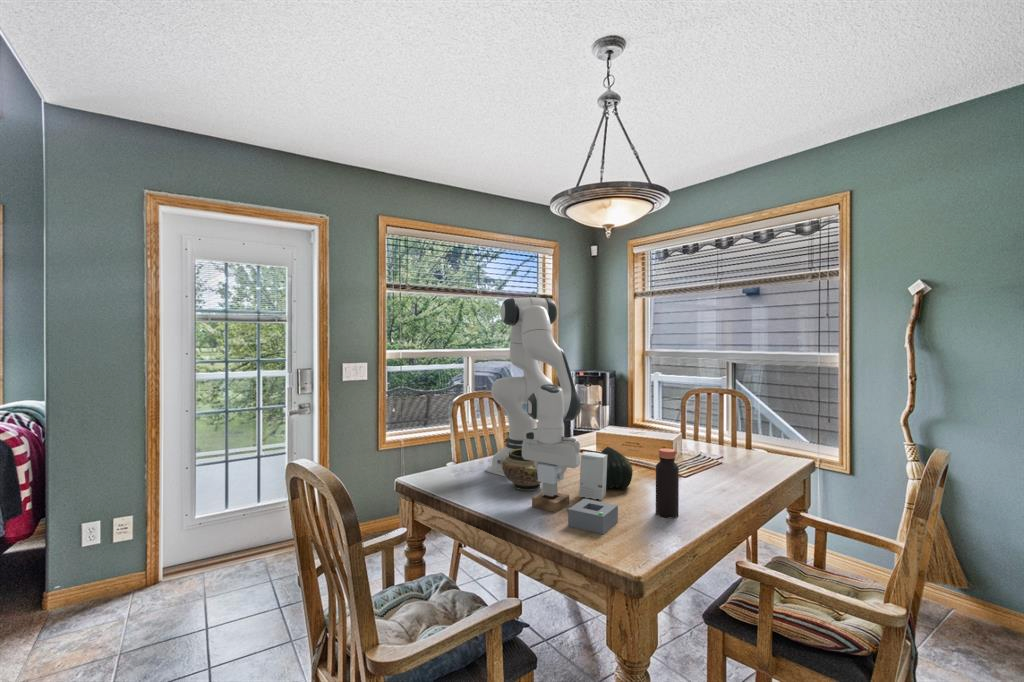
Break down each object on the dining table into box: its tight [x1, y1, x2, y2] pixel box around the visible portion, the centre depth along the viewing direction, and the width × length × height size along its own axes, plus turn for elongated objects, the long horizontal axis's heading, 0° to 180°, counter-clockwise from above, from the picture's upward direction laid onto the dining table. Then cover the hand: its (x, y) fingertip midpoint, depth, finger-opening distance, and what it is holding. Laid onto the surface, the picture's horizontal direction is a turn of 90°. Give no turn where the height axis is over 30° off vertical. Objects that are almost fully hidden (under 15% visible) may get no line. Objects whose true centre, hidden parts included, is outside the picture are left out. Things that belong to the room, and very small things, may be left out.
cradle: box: [531, 491, 570, 513], centre depth 160 cm, size 9×9×3 cm
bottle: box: [655, 447, 680, 518], centre depth 153 cm, size 7×7×20 cm
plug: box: [538, 463, 564, 496], centre depth 161 cm, size 6×6×10 cm
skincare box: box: [578, 451, 607, 501], centre depth 169 cm, size 8×6×15 cm
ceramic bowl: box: [502, 448, 543, 491], centre depth 181 cm, size 24×18×15 cm
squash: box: [599, 446, 634, 490], centre depth 181 cm, size 14×15×15 cm
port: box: [567, 498, 619, 535], centre depth 145 cm, size 11×11×5 cm
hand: (550, 476), depth 161 cm, fingers closed on plug, 6 cm apart
